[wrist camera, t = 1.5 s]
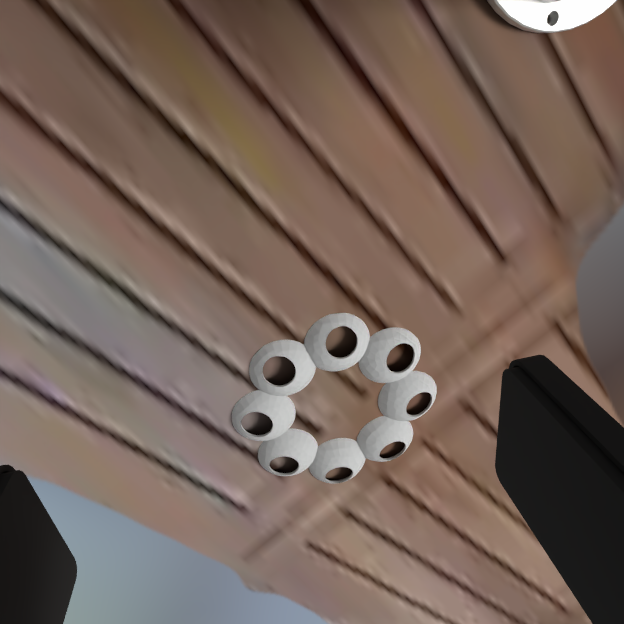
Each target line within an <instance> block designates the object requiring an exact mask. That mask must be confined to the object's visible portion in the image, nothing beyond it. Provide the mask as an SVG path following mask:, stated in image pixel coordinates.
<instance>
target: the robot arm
mask: <svg viewBox="0 0 624 624" xmlns="http://www.w3.org/2000/svg"><path fill="white" fill-rule="evenodd" d="M487 1H488V2H489V4H490V5H491V6H492V8H493V9H494V11H495V12H496V13H497V14H498V15H500V16H501V17H502V18H503V19H504V20H505V21H507V22H508V23H509V24H511V25H513V26H516V27H518V28H520V29H522V30H525V31H530V32H535V33H554V32H560V31H566V30H571V29H573V28H576V27H578V26H581V25H583V24H586V23H588V22H589V21H591V20H592V19H594V18H596V17H597V16H599V15H600V14H602V13H603V12H604V11H606V10H607V9H608V8H609V7H610V6H611V5H612V4H614V3H615V2H616V1H617V0H487ZM495 468H496V473H497V476H498V478H499V481H500V483H501V484H502V486H503V487H504V489H505V490H506V492H507V493H508V495H509V497H510V498H511V500H512V501H513V503H514V504H515V506H516V507H517V509H518V510H519V512H520V513H521V515H522V516H523V518H524V519H525V521H526V522H527V524H528V526H529V527H530V529H531V530H532V532H533V533H534V535H535V536H536V538H537V539H538V541H539V542H540V544H541V545H542V547H543V548H544V550H545V552H546V553H547V555H548V556H549V558H550V559H551V561H552V562H553V564H554V565H555V567H556V568H557V570H558V571H559V573H560V574H561V576H562V578H563V579H564V581H565V582H566V584H567V585H568V587H569V588H570V590H571V591H572V593H573V594H574V596H575V597H576V599H577V600H578V602H579V603H580V605H581V607H582V608H583V610H584V611H585V613H586V614H587V616H588V617H589V619H590V620H591V622H592V623H593V624H624V428H623V427H622V426H621V425H620V424H619V423H618V422H617V421H616V420H615V419H614V418H612V417H611V416H610V415H609V414H608V413H607V412H606V411H605V410H604V409H603V408H602V407H600V406H599V405H598V404H597V403H596V402H595V401H594V400H593V399H592V398H591V397H589V396H588V395H587V394H586V393H585V392H584V391H583V390H582V389H581V388H580V387H579V386H577V385H576V384H575V383H574V382H573V381H572V380H571V379H570V378H569V377H568V376H567V375H565V374H564V373H563V372H562V371H561V370H560V369H559V368H558V367H557V366H556V365H555V364H553V363H552V362H551V361H550V360H549V359H548V358H547V357H545V356H544V355H536V356H532V357H527V358H522V359H517V360H514V361H512V362H511V363H510V366H509V369H506V370H504V372H503V375H502V387H501V399H500V411H499V424H498V436H497V449H496V461H495ZM76 576H77V565H76V561H75V558H74V557H73V555H72V553H71V551H70V550H69V548H68V546H67V545H66V543H65V541H64V540H63V538H62V536H61V535H60V533H59V531H58V529H57V528H56V526H55V524H54V523H53V521H52V519H51V517H50V516H49V514H48V512H47V511H46V509H45V507H44V506H43V504H42V502H41V501H40V499H39V497H38V496H37V494H36V492H35V491H34V489H33V487H32V485H31V484H30V482H29V480H28V479H27V477H26V475H25V474H24V473H23V472H22V471H20V470H17V471H15V469H14V468H13V467H12V466H10V465H2V466H0V624H63V622H64V619H65V615H66V612H67V608H68V605H69V602H70V598H71V595H72V591H73V588H74V584H75V581H76Z"/></svg>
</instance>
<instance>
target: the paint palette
mask: <svg viewBox="0 0 624 624" xmlns="http://www.w3.org/2000/svg"><path fill="white" fill-rule="evenodd" d="M339 326H347V327H349V328H351V329H352V330H353V331H354V332H355V334H356V336H357V344H356V347H355V349H354V350H353V351H352V353H351V354H349V355H348V356H345V357H341V358H338V357H334V356H332V355H331V354H329V353H328V351H327V350H326V345H325V343H326V338H327V336H328V334H329V333H330V332H331V331H332V330H333V329H335V328H337V327H339ZM402 343H406V344H409V345H411V346H412V347H413V351H414V355H413V360H412V362H411V364H410V365H409V366H408V367H407V368H406V369H405V370H403V371H400V372H393V371H391V370H389V369H388V367H387V364H386V360H387V356H388V354H389V352H390V351H391V349H393V348H394V347H395V346H397V345H399V344H402ZM420 354H421V348H420V343H419V340H418V338H417V337H416V336H415V335H413V334H412V333H411V332H410V331H408V330H406V329H402V328H388V329H384V330H381V331H379V332H377V333H375V334H374V335H372V336H371V337H370V336H369V330H368V328H367V326H366V324H365V323H364V322H363V321H362V320H361V319H360V318H358V317H356V316H354V315H351V314H348V313H336V314H330V315H327V316H325V317H323V318H321V319H319V320H318V321H317V322H315V323H314V324H313V325H312V326H311V328H310V329H309V330H308V332H307V335H306V337H305V340H304V345H303V344H301V343H299V342H297V341H293V340H278V341H274V342H271V343H269V344H267V345H265V346H263V347H262V348H261V349H260V350H259V351H258V352H257V353H256V354H255V355H254V356H253V358H252V360H251V363H250V366H249V374H250V378H251V381H252V382H253V384H254V385H255V387H257V388H258V389H259V390H257V391H253V392H251V393H249V394H247V395H245V396H244V397H242V398H241V399H240V400H239V401H238V402H237V403H236V405H235V406H234V408H233V411H232V423H233V427H234V428H235V429H236V431H237V432H238V433H239V434H241V435H242V436H243V437H245V438H248V439H250V440H256V441H263V443H262V444H261V445H260V448H259V450H258V459H259V463H260V464H261V466H262V467H263V468H264V469H265V470H267V471H268V472H270V473H273V474H275V475H279V476H292V475H296V474H298V473H300V472H303V471H304V470H305V469H307V468H308V467H309V470H310V472H311V474H312V475H313V476H314V477H315V478H317V479H318V480H321V481H323V482H326V483H332V484H334V483H341V482H345V481H347V480H349V479H351V478H352V477H354V476H355V475H356V474H357V473H358V472H359V471H360V470H361V468H362V467H363V465H364V463H365V458H367V459H369V460H373V461H380V462H383V461H389V460H393V459H395V458H397V457H399V456H400V455H401V454H402V453H404V451H405V450H406V449H407V448H408V446H409V444H410V443H411V441H412V437H413V428H412V426H411V424H410V423H409V422H408V421H410V420H414V419H416V418H418V417H420V416H422V415H423V414H425V413H426V412H427V411H428V410H429V408H430V407H431V406H432V404H433V402H434V400H435V397H436V384H435V382H434V380H433V379H432V378H431V377H430V376H429V375H427V374H426V373H423V372H419V371H412V370H413V369H414V368H415V366H416V364H417V363H418V361H419V358H420ZM275 356H282V357H286V358H288V359H289V360H290V361H292V362H293V364H294V366H295V370H296V372H295V376H294V378H293V379H292V380H291V381H290V382H289V383H287V384H285V385H274V384H271V383H269V382H268V381H267V380H266V379H265V377H264V376H263V373H262V372H263V366H264V364H265V362H266V361H267V360H268V359H269V358H271V357H275ZM357 362H359V368H360V370H361V372H362V373H363V374H364V375H365V376H366V377H367V378H368V379H370V380H372V381H374V382H379V383H386V384H385V385H384V386H383V388H382V389H381V391H380V394H379V398H378V406H379V409H380V411H381V413H382V414H383V415H384V416H382V417H378V418H376V419H374V420H372V421H370V422H369V423H368V424H366V425H365V426H364V427H363V428H362V430H361V431H360V433H359V435H358V437H357V441H355V440H353V439H348V438H336V439H332V440H329V441H327V442H325V443H322V444H321V445H320V446H318V445H317V442H316V440H315V439H314V437H313V436H312V435H310V434H309V433H308V432H305V431H303V430H299V429H289V428H290V426H291V425H292V423H293V421H294V419H295V412H296V411H295V407H294V404H293V402H292V401H291V399H290V398H289V397H287V395H291V394H294V393H296V392H298V391H301V390H302V389H303V388H304V387H306V386H307V385H308V383H309V382H310V381H311V380H312V378H313V376H314V373H315V368H316V367H318V368H320V369H322V370H326V371H340V370H344V369H347V368H349V367H351V366H353V365H354V364H356V363H357ZM422 392H428V393H430V394H431V400H430V403H429V405H428V406H427V408H426V409H425V410H424V411H422V412H421V413H419V414H416V415H409V414H408V413H407V412H406V406H407V404H408V402H409V401H410V399H411V398H412V397H414V396H415V395H417V394H419V393H422ZM250 412H260V413H263V414H266V415H267V416H268V417H269V418H270V419H271V420H272V423H273V426H272V429H271V430H270V431H269V432H268V433H266V434H264V435H253V434H250V433H248V432H247V431H246V430H245V429H244V428H243V427H242V425H241V420H242V418H243V416H245V415H246V414H248V413H250ZM396 441H401V442H404V443H405V446H404V449H403V450H402V451H400V452H399V453H398V454H396V455H394V456H392V457H389V458H381V457H380V456H379V455H380V452H381V450H382V449H383V448H384V447H385V446H386V445H388V444H390V443H392V442H396ZM282 456H287V457H291V458H293V459H295V460H296V461H297V462H298V463H299V466H298V468H297V469H296V470H295V471H293V472H290V473H279V472H276V471H274V470H272V469H271V468H270V466H269V464H270V462H271V460H273V459H274V458H277V457H282ZM338 467H347V468H350V469H351V470H352V474H351V475H350V476H348V477H346V478H344V479H340V480H333V481H330V480H327V479H326V478H325V475H326V474H327V473H328V472H329V471H330V470H332V469H334V468H338Z"/></svg>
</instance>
